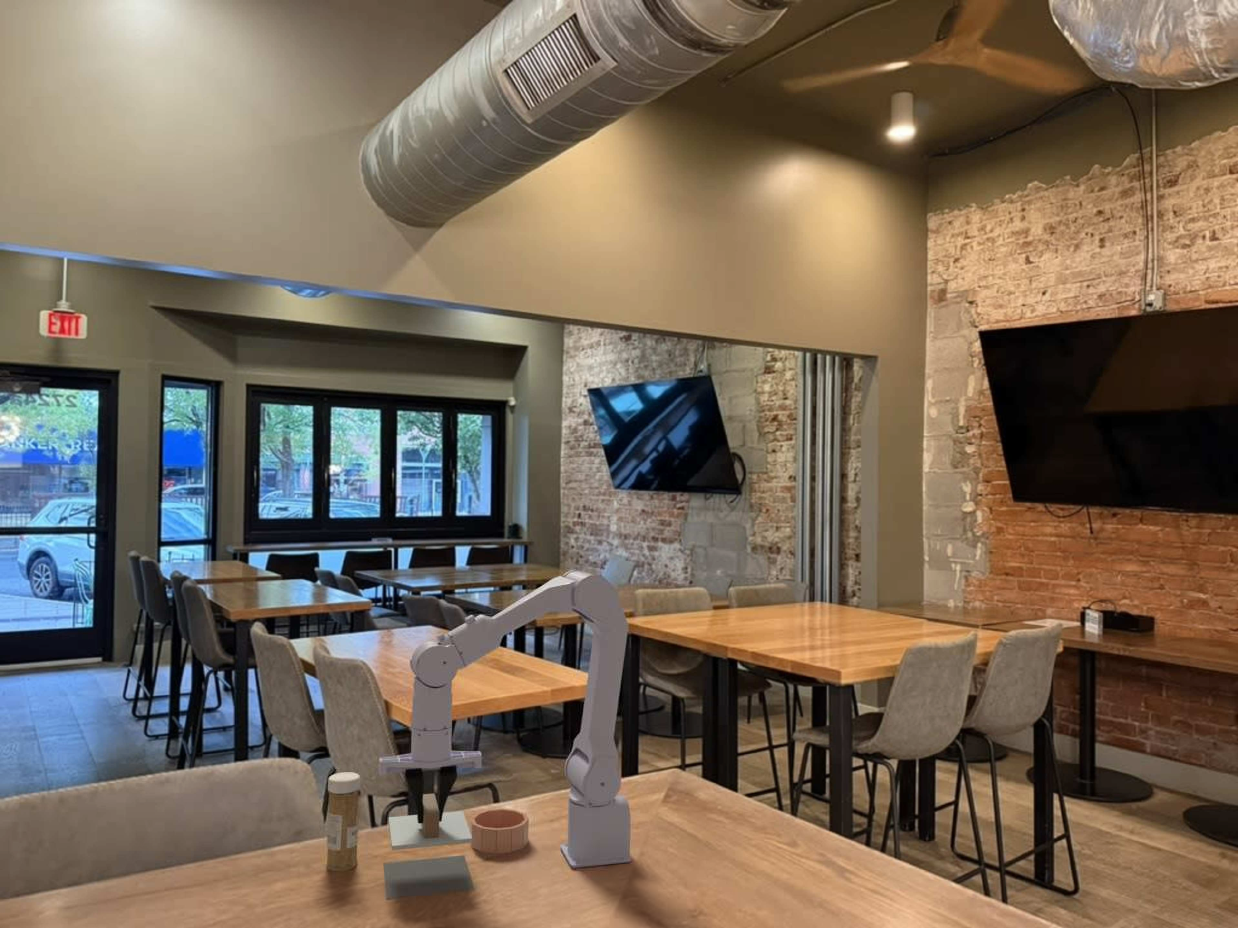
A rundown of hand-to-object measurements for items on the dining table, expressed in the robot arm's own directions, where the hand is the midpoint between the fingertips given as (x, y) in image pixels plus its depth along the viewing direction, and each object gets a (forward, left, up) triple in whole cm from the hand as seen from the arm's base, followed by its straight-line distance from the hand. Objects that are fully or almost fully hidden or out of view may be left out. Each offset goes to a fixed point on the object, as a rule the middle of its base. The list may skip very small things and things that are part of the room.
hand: (429, 819), depth 128 cm
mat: (0, 0, -8) cm, 8 cm away
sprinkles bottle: (+12, -7, -9) cm, 16 cm away
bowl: (-12, -10, -8) cm, 18 cm away
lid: (0, 0, -2) cm, 2 cm away
